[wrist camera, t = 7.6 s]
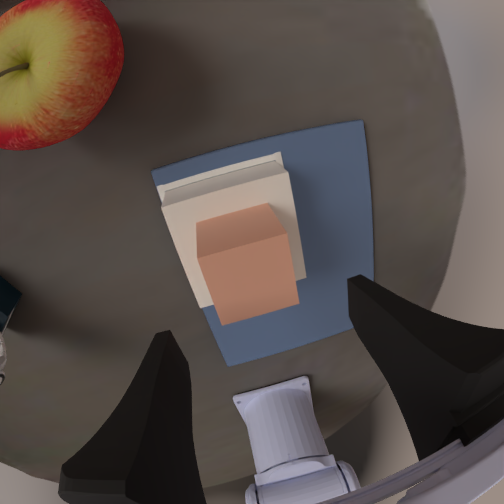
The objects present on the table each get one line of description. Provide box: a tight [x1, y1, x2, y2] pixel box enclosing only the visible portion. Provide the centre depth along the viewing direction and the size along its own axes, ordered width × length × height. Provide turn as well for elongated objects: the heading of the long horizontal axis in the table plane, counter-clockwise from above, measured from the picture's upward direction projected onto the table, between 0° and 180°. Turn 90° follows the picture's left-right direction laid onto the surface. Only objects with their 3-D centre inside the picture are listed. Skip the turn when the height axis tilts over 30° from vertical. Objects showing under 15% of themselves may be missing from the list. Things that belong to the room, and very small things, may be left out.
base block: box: [161, 161, 307, 308], centre depth 19 cm, size 7×7×3 cm
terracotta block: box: [196, 203, 299, 325], centre depth 16 cm, size 4×4×4 cm
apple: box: [0, 0, 124, 150], centre depth 10 cm, size 8×8×10 cm
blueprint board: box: [151, 120, 374, 367], centre depth 23 cm, size 18×14×1 cm
